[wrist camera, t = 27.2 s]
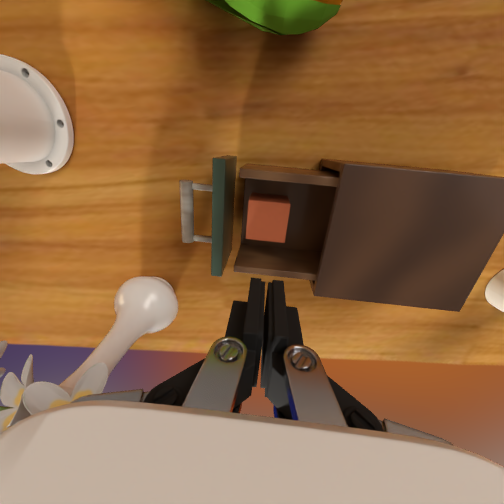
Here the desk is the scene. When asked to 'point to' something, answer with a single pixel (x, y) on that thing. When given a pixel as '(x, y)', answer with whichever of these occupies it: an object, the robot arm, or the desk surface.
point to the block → (267, 217)
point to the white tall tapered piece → (496, 291)
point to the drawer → (223, 193)
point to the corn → (281, 13)
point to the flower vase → (101, 359)
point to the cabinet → (408, 234)
